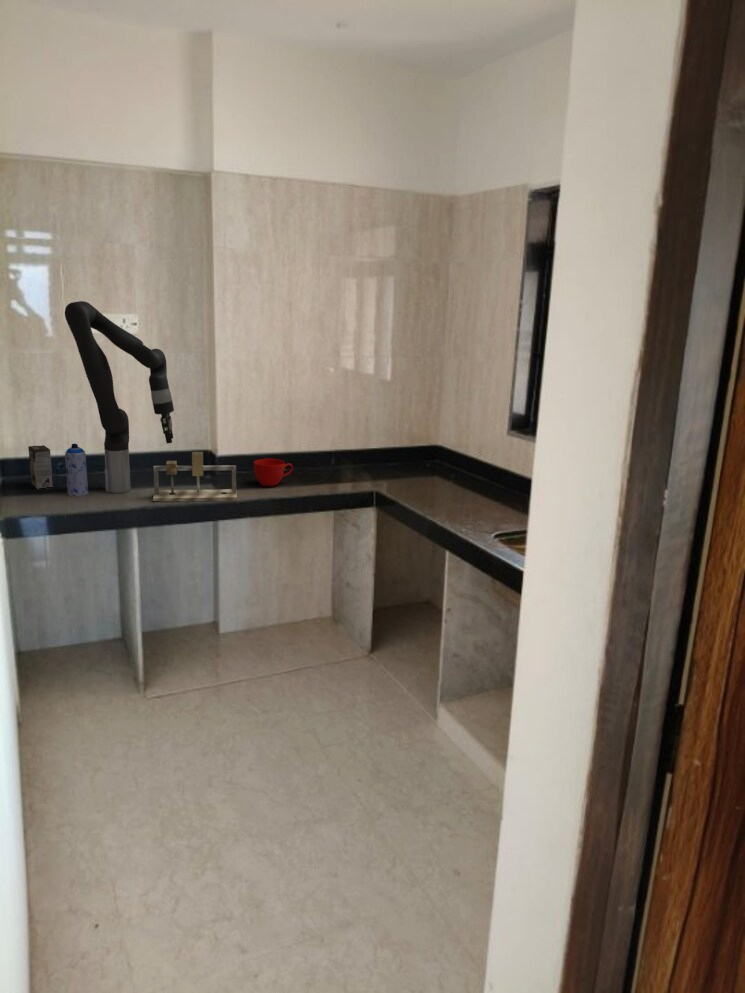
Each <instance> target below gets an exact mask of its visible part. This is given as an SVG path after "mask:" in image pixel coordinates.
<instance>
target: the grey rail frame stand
mask: <svg viewBox="0 0 745 993" xmlns="http://www.w3.org/2000/svg"><path fill="white" fill-rule="evenodd" d="M177 462H178V461H177V460H167V461H166V465H153V485H154V487H153V488H154V494H153V498H152V502H153V501H171V503H175V502H176V503H179V502H180V501H181V503H184V502H191V503H193V502H237V501H238V495H237V494H238V492H237V465H229V464H228V465H203V472H204V471H231V488H229V489H228V488H227V489H224V488H223V489H200V492H197V489H174V488H175V486H174V485H175V484H174V476H177V473H178V471H179V472H180V471H183V472H184V471H185V472H187V471H188V472H189V471H191V472H192V465H178V464H177ZM163 471H164V472H166V476H168V475H169V476H170V489H162V490H161V489H160V485H159V484H160V483H159V482H160V480H159V478H160V477H159V472H163ZM172 501H173V502H172ZM177 501H179V502H177ZM182 501H183V502H182Z"/></svg>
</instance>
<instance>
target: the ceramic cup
mask: <svg viewBox="0 0 745 993" xmlns="http://www.w3.org/2000/svg"><path fill="white" fill-rule="evenodd" d="M288 466H290V470H289V471H288V472H286V473H284V471H285V468H286V467H288ZM253 469H254V474H255V477H256V479H257V481H258V483H259V484H260V485H261V486H262V485H263V487H267V486H271V487H276V486H277V485H278V484H279V483H280V482H281V480H282V479H283V477H286V476H288V475H290V474H291V473H292V472H293V469H294V466H293V465H292V463H285V461H284V460H281V459H277V458H261V459H257V460H255V461H253ZM275 485H276V486H275Z"/></svg>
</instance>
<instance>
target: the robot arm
mask: <svg viewBox="0 0 745 993" xmlns="http://www.w3.org/2000/svg"><path fill="white" fill-rule="evenodd" d="M64 317H65V320H66V323H67V325H68V327H69V330H70V332H71V334H72V336H73V339H74V341H75V344H76V346H77V347H76V348H77V350H78V354H79V356H80V359H81V362H82V367H83V369H84V372H85V375H86V378H87V380H88V381H87V382H88V384H89V386H90V389H91V392H92V394H93V396H94V399H95V401H96V402H95V403H96V407H97V410H98V414H99V420H100V423H101V427H102V428H103V429H104V432H105V433H104V434H105V436H104V443H103V447H104V449H103V450H104V464H105V465H104V466H105V467H104V482H105V483H104V485H105V492H106V493H112V494H113V493H115V494H121V493H128V492H130V491H131V490H132V489H131V486H132V484H131V468H130V450H129V448H130V447H129V443H130V422H129V416H128V413H127V412H126V411H125V410H124V409H122V408H120V407H119V405H118V402H117V399H116V396H115V388H114V380H113V379H114V378H113V375H112V370H111V367H110V363H109V361H108V358H107V355H106V354H105V352H104V351H103V349H102V347H101V346H100V345H99V344H98V342H97V341H96V339H95V336H94V334H93V331H92V329H94V330H95V331H97V332H99V333H100V334H102V335H103V336H104V337H105V338H107V339H108V340H109V341H110V342H111V343H112V344H113V345H114V346H115V347H117V348H119V349H120V350H122V351H123V352H125V353H127V354H128V355H130V356H132V358H134V359H135V360H136V361H137V362H138V363H140V364H141V365H142V366H144V367H145V368H147V369H149V372H150V375H149V376H148V383H149V388H150V395H151V396H150V398H151V402H152V407H153V412H154V414H155V415H161V417H160V418H159V420H160V423H161V429H162V433H163V435H164V438H165V443H166V444H172V443H173V439H174V433H173V422H172V417H171V413H173V412H174V410H175V409H174V403H173V399H172V392H171V391H170V385H169V382H168V377H167V376H168V375H167V372H168V371H167V370H168V367H167V358H166V355H165V353H164V352H163V351H162V350H161V349H158V348H150V347H147V346H146V345H145V344H144V342H143V341H142V340H141V339H140V338H138V337H136V336H135V335H133V334H132V333H130V332H129V331H127V330H125V329H124V328H123V327H120V326H119V325H118V324H116V323H114V322H113V321H112V320H111V319H110V318H107V317H106V316H105V315H104V314H102V312H100V311H99V310H98V309H97V308H96V307H95V306H94V305H92V304H91V303H89V302H87V301H83V300H79V301H73V302H70V303H68V304H67V305H66V306H65V309H64Z"/></svg>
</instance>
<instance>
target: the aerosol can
mask: <svg viewBox="0 0 745 993" xmlns="http://www.w3.org/2000/svg"><path fill="white" fill-rule="evenodd" d="M64 460H65V471H66V473H65V474H66V475H65V476H66V488H67V493H68V494H71V495H83V494H87V493H88V492H89V486H88V484H89V483H88V474H87V473H88V472H87V471H88V470H87V456H86V451H85V450H84V449H83V448H81V447H80V446H78V443H71V447H69V448H68V449H66V451H65V452H64ZM68 494H67V495H68ZM88 494H89V493H88ZM88 494H87V495H88ZM83 496H84V495H83Z"/></svg>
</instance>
